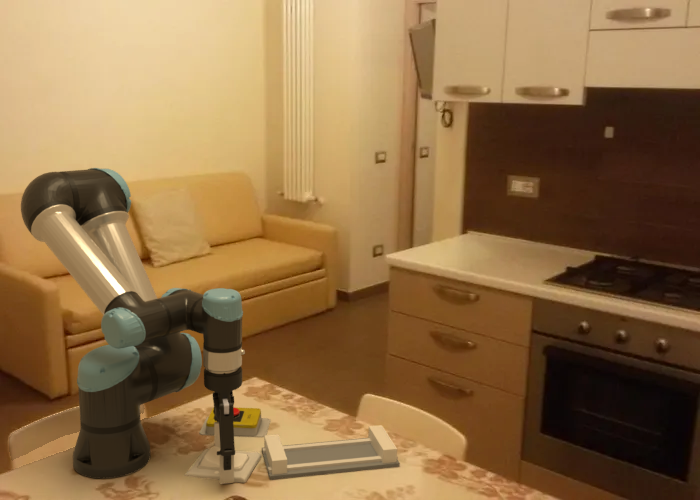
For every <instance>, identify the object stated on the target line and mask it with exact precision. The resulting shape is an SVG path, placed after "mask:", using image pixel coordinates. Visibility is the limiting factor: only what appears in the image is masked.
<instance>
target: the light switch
mask: <svg viewBox="0 0 700 500" xmlns="http://www.w3.org/2000/svg"><path fill="white" fill-rule="evenodd" d="M217 451H220V448H219V447H216V446H215V445H213V446H211V447H210V448H205V449H203V451H202V452H201V453H200V455H199V456H198V457H197V458H196V460H195V461H194V462H193V463H192V465H191V466H190V468H189V469H188V470H187V471H186V472H185V473H184V476H186V477H193V478H198V479H209V480H215V481H220V455H217ZM261 458H262V453H260V452H259V451H249V450H248V451H246V450H235V455H234V483H242V484H243V483H244V484H245V483H246V482H247V481H248V479H249V477H250V476H251V475H252V473H253V471H254V470H255V468H256V466H257V465H258V464H259V462H260V460H261Z"/></svg>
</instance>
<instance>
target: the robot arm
mask: <svg viewBox="0 0 700 500" xmlns="http://www.w3.org/2000/svg"><path fill="white" fill-rule="evenodd" d="M131 197H132V195H131V191H130V187H129V186H128V184H127V181H126V180H125V179H124V177H123V176H122V175H121V174H120V173H119V172H117V171H116V170H114V169H110V168H99V167H91V168H88V169H78V170H63V171H50V172H46V173H41V174H40V175H38V176H36V177H35V178H34V179H32V180H31V181H30V182H29V183H28V185H27V186H26V188H25V189H24V191H23V193H22V196H21V199H20V200H21V201H20V213H21V218H22V221H23V224H24V225H25V227H26V229H27V230H28V232H29V233H30V234H31V236H32V237H33V238H34V239H35V240H37V241H38V242H41V243H42V242H43V243H45V245H46V246H47V247H48V249H50V251H51V252H52V253H53V255H54V256H55V257H56V258H57V260H58V261H59V262H60V264H62V266H63V267H64V268H65V269H66V270H67V272H68V273H69V275H70V276H71V277H72V278H73V279H74V281H75V282H76V283H77V285H79V287H80V288H81V289H82V291H83V292H84V294H86V295H87V297H88V298H89V299H90V300H91V302H92V303H93V305H94V306H95V307H96V308H97V310H98V311H100V313H101V314H102V317H101V322H100V327H101V332H102V334H103V335H104V340H105V342H106V343H107V344H106V345H103V346H99V347H96V348H94V349H92V350H90V351H88V352H87V353H86V354H84V355H83V356H82V358H81V359H80V360H79V363H78V367H77V378H76V384H77V387H78V403H79V420H80V421H79V422H80V430H79V432H78V436H77V440H76V441H75V442H76V443H75V445H74V450H73V452H72V453H73V454H72V463H73V469H74V470H75V472H77V473H78V474H80V475H82V476H84V477H86V478H87V477H88V478H91V479H93V478H95V479H113V478H114V479H115V478H119V477H124V476H128V475H130V474H132V473H135V472H137V471H139V470H141V469H143V468H144V467H145V466H146V465H147V464H148V462H149V461H150V459H151V445H150V442H149V439H148V437H147V434H146V432H145V429H144V427H143V424H142V422H141V406H142V405H144V404H148V403H150V402H152V401H154V400H157V399H159V398H162V397H165V396H168V395H170V394H172V393H178V392H180V391H182V390H183V389H186V388H189V387H190V386H192V385H194V383H195V382H196V381H197V380H198V378H199V377H200V374H201V369H202V365H203V367H204V369H203V385H204V387H205V389H207V390H208V391H210V392H212V401H213V408H214V410H213V413H214V414H215V416H214V420H215V421H217V422H214V436H213V437H214V441H213V442H214V445H213V446H216V447H219V448H220V451H217V455H220V480H219V484H220V485H223V484H232V483H234V484H235V482H234V455H235V436H234V425H233V417H234V409H233V407H234V405H235V396H234V393H233V391H236V390H238V389H239V388H241V386H242V384H243V368H242V365H243V356H242V355H245V354H246V351H245V349H243V314H244V311H243V303H242V296H241V294H240V292H239V291H238V290H235V289H232V288H224V287H220V288H219V287H218V288H211V289H208V290H207V291H204V293H203V294H202V293H199V292H196V291H193V290H191V289H188V288H181V287H172V288H170V289H168V290H167V291H166V292H165V293H163V294H162V295H161V297H159V298H158V296H157V294H156V292H155V290H154V287H153V285H152V282H151V280H150V278H149V275H148V274H147V273H148V272H147V271H146V269H145V266H144V265H143V262H142V259H141V258H140V256H139V253H138V250H137V248H136V245H135V243H134V242H133V240H132V236H131V235H130V233H129V230H128V228H127V226H126V224H127V221H128V220H129V212H130V209H131V206H132V200H131V199H130V198H131ZM187 330H188V331H193V332H194V333H195V332H196V333H198V334H202V335H203V337H202V338H203V345H202V348H203V350H202V352H201V348H200V345H199V343H198V340H196V338H195V337H194V336H192V335H191V334H190V333H186V332H185V331H187ZM183 331H184V332H183ZM202 354H203V357H202Z"/></svg>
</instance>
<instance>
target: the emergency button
mask: <svg viewBox="0 0 700 500" xmlns="http://www.w3.org/2000/svg"><path fill="white" fill-rule="evenodd" d="M233 409H234V417H233V425H234V437H237V438H238V437H241V438H244V437H245V438H264V435H268V431H269V427H270V424H271V418H267V417H262V411H261V408H258V407H257V408H256V407H236V406H235V407H233ZM213 410H214V407H212V409H211V411H210V413H209V415H208V416H207V417H206V418H205V419H204V422H203V424H202V426H201V429H200V431H199V435H201V436H213V437H214V422H217V421H215V420H214V416H215V414H214V413H213Z"/></svg>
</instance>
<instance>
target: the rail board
mask: <svg viewBox="0 0 700 500" xmlns="http://www.w3.org/2000/svg"><path fill="white" fill-rule="evenodd" d="M367 434H368V436H367V437H362V438H360V437H359V438H351V439H350V438H349V439H341V440H329V441H320V442H319V441H318V442H317V441H316V442H306V443H297V444H287V445H286V444H285V445H283V444H282V440H281V437H280V435H279V433H277V434H267V435H264V437H263V439H264V440H263V441H264V443H263V444H264V445H263V447H261V455H262V457H263V461H264V464H265V467H266V470H267V475H268V477H269V478H268V479H269V480H270V481H271V480H272V481H273V480H283V479H291V478H301V477H309V476H310V477H311V476H320V475H321V476H323V475H329V474H330V475H331V474H332V475H333V474H341V473H350V472H359V471H369V470H370V471H371V470H377V469H388V468H396V467H397V468H398V467H400V461H399V459H398V458H399V457H398V448H397V446H396V445H395V443H394V441H393V440H392V439H391V437H390V435H389V434H388V431H386V429H385V428H384V426H383V425H382V424H379V425H370V426H368V433H367Z"/></svg>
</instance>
